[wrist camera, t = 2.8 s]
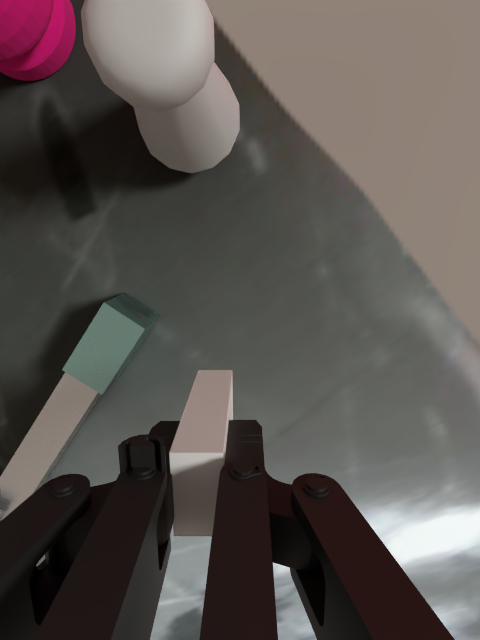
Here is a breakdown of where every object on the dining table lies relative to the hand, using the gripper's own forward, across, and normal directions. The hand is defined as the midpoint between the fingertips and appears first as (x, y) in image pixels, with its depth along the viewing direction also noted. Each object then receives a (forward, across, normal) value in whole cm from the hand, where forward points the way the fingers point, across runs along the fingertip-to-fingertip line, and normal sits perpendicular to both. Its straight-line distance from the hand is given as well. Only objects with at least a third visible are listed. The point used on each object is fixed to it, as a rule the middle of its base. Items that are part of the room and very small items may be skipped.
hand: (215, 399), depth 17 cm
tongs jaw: (+10, +12, +7) cm, 17 cm away
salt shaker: (+11, +2, -14) cm, 17 cm away
